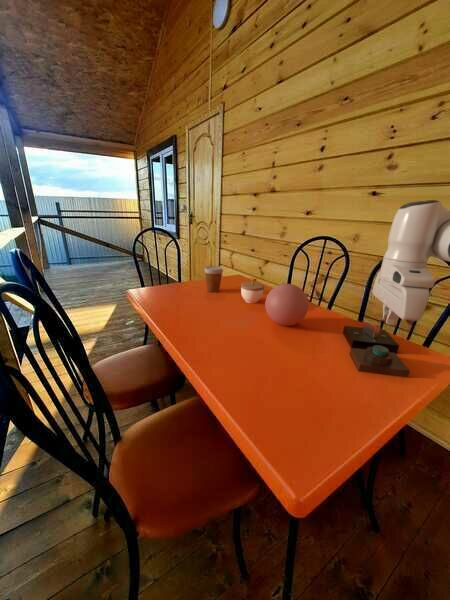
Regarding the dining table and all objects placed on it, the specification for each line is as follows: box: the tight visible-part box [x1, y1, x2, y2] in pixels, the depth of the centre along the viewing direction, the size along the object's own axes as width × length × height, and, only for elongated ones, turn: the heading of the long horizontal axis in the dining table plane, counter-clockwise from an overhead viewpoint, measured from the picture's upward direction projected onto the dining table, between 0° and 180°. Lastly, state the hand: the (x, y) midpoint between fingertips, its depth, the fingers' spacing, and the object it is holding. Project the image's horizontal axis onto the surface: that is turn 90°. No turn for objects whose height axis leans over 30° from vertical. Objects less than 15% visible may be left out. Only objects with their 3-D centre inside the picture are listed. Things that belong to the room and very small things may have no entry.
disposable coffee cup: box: [203, 265, 224, 293], centre depth 131 cm, size 10×10×12 cm
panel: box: [342, 325, 400, 355], centre depth 83 cm, size 13×11×3 cm
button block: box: [349, 347, 411, 379], centre depth 70 cm, size 12×9×4 cm
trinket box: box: [240, 280, 265, 304], centre depth 117 cm, size 11×11×9 cm
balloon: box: [264, 283, 310, 327], centre depth 94 cm, size 15×20×15 cm
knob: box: [362, 319, 381, 339], centre depth 82 cm, size 6×2×4 cm, turn 4°
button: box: [372, 345, 388, 357], centre depth 70 cm, size 4×4×2 cm
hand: (387, 322), depth 67 cm, fingers closed
